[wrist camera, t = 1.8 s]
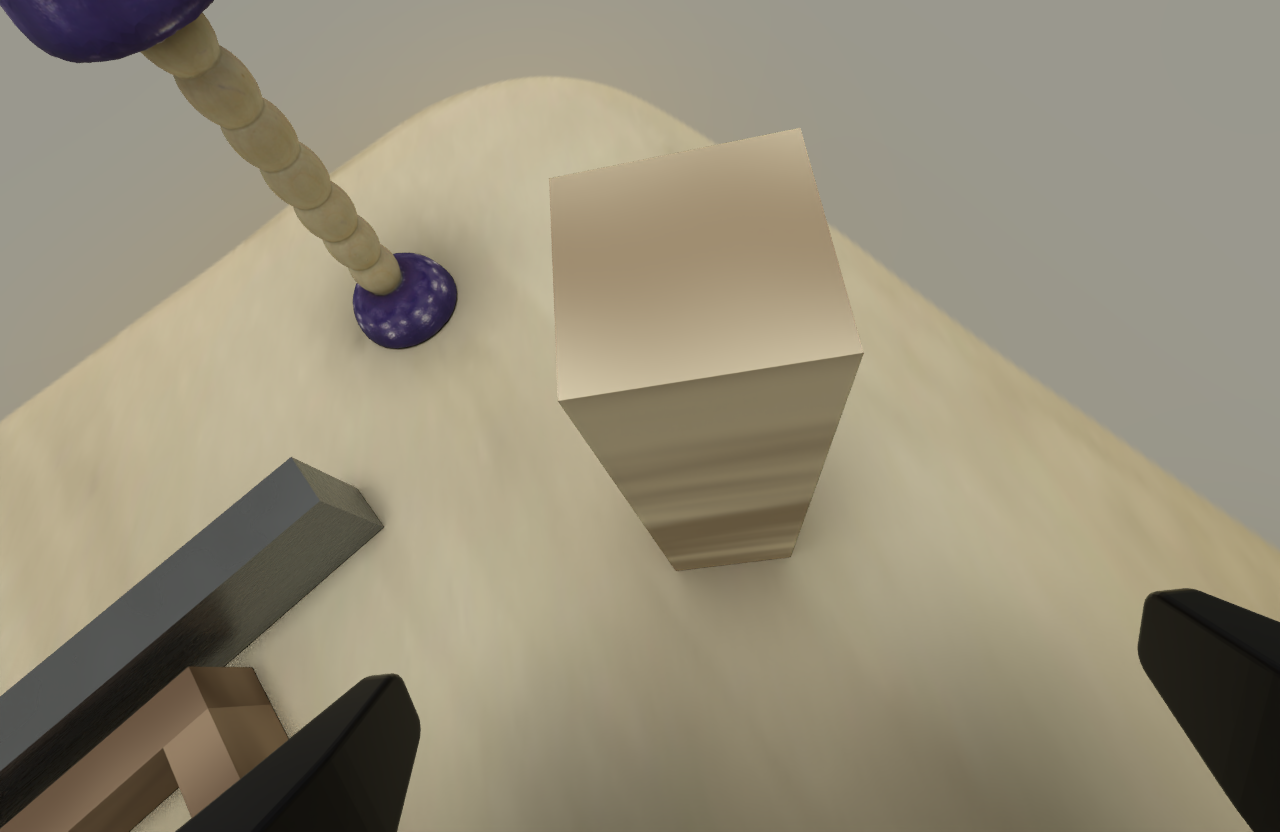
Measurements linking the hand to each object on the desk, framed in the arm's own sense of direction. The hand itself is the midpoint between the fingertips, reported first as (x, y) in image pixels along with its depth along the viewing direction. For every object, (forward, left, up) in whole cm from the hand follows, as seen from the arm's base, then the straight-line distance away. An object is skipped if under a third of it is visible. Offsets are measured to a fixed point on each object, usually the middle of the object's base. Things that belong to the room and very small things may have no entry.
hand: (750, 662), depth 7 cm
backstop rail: (+9, +19, -11) cm, 24 cm away
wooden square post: (+4, -2, -11) cm, 12 cm away
